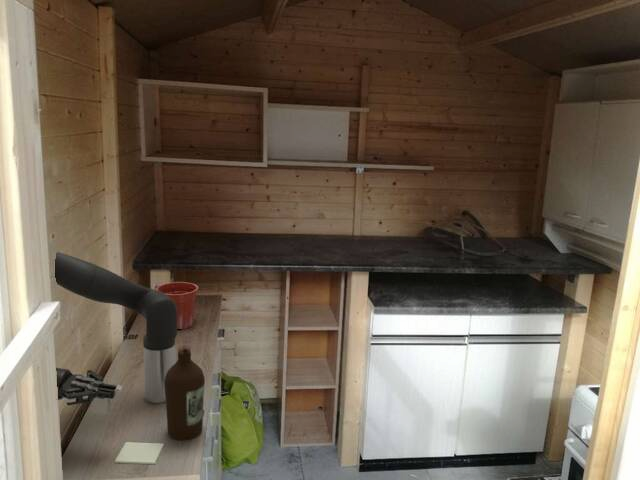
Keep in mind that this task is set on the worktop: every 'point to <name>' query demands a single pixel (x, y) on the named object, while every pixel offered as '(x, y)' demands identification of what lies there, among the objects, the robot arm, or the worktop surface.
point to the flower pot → (181, 300)
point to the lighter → (103, 402)
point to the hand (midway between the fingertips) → (115, 392)
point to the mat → (139, 453)
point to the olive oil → (184, 397)
